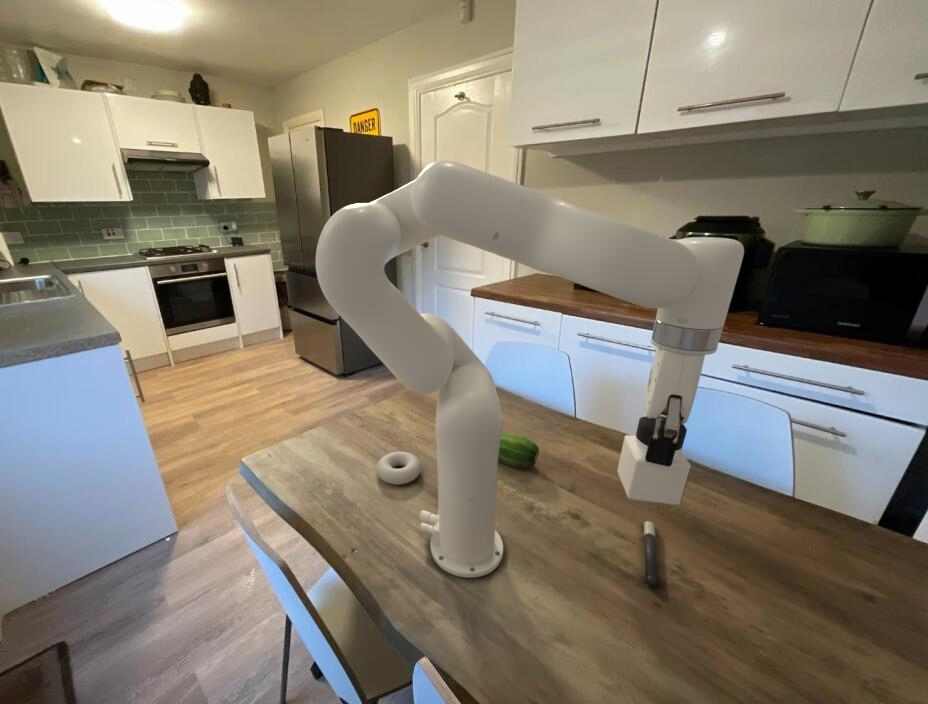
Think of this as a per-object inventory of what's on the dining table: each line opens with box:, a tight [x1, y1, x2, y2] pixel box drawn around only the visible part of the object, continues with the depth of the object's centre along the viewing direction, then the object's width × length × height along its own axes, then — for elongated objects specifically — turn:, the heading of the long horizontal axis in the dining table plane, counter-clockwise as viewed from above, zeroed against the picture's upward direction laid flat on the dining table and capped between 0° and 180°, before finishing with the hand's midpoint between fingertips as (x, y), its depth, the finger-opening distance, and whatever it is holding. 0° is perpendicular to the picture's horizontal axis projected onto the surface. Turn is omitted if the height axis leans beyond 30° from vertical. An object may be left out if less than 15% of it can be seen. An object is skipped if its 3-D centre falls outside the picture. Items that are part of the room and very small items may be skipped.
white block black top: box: [617, 415, 692, 506], centre depth 61 cm, size 7×7×12 cm
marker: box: [643, 520, 659, 587], centre depth 68 cm, size 14×2×2 cm
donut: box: [376, 450, 422, 486], centre depth 91 cm, size 10×4×10 cm
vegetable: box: [498, 432, 540, 470], centre depth 95 cm, size 7×7×20 cm
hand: (656, 447), depth 60 cm, fingers closed on white block black top, 7 cm apart
